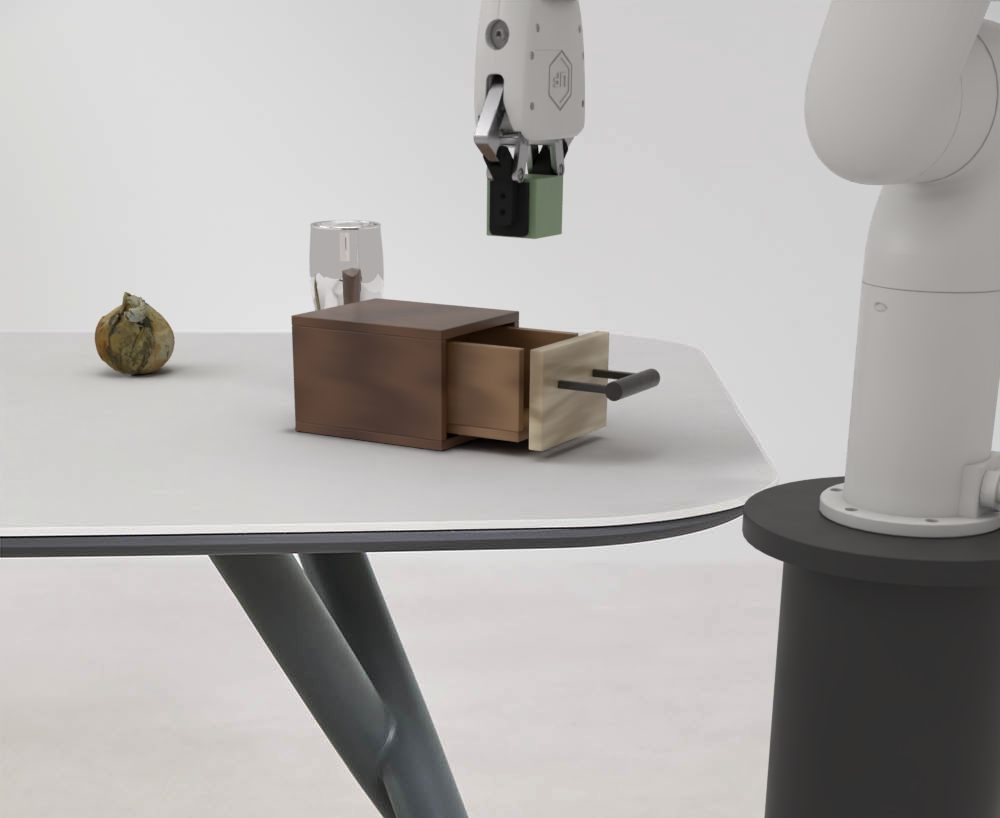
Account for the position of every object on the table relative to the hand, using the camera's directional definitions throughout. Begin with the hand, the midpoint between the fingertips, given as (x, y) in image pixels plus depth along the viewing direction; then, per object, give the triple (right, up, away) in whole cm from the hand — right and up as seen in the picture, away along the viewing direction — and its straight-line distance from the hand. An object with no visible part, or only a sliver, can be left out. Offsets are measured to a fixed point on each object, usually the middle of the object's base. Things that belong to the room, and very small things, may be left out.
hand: (525, 230), depth 135 cm
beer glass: (-16, -6, +30) cm, 34 cm away
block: (0, 0, 0) cm, 0 cm away
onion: (-38, -4, +36) cm, 52 cm away
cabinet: (-10, -13, +12) cm, 21 cm away
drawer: (+1, -15, +6) cm, 16 cm away
